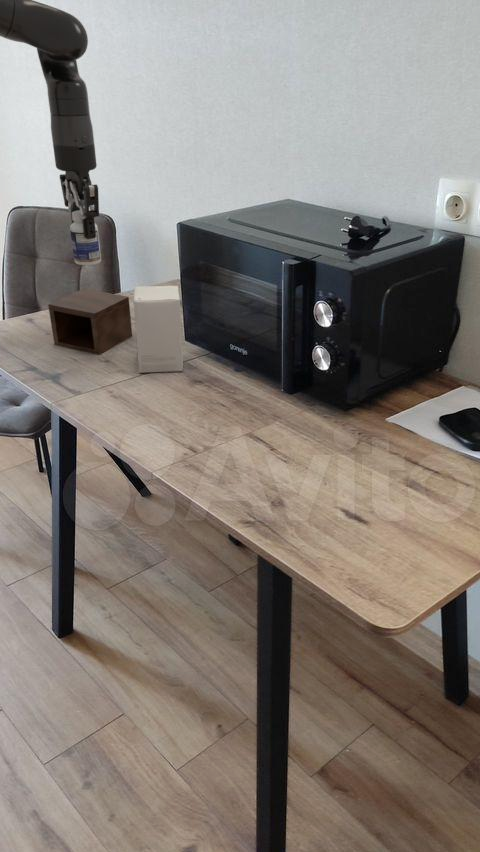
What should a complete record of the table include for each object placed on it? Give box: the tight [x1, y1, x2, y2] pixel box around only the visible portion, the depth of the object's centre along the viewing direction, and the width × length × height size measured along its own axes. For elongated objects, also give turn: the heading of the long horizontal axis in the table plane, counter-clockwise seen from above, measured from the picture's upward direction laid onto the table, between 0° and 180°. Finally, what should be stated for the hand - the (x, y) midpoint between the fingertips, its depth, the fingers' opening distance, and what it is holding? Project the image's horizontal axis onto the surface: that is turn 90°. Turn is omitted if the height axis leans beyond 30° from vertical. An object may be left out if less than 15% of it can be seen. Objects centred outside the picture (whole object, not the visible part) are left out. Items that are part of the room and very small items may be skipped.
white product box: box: [133, 285, 184, 374], centre depth 141 cm, size 9×9×15 cm
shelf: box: [47, 288, 133, 355], centre depth 152 cm, size 12×12×9 cm
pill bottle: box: [69, 210, 102, 266], centre depth 140 cm, size 5×5×10 cm
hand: (84, 234), depth 140 cm, fingers closed on pill bottle, 5 cm apart
